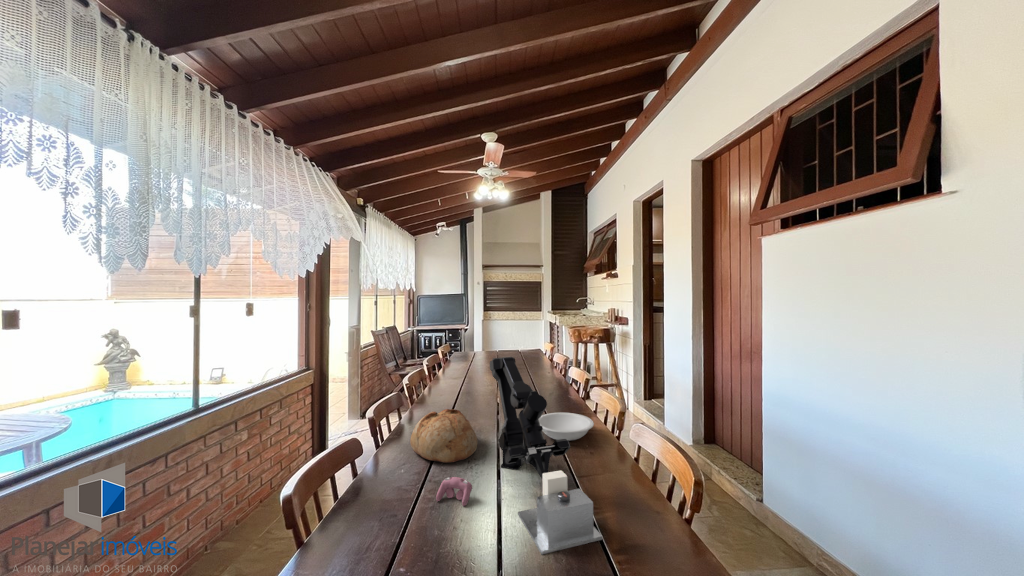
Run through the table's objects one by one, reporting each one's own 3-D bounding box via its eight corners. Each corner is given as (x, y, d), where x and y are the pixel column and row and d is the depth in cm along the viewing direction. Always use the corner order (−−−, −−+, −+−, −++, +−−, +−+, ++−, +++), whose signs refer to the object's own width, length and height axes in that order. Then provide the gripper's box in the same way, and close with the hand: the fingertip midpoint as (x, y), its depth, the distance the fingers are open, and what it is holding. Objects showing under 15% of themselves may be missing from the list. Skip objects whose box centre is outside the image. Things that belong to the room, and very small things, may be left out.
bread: (488, 455, 139) (487, 415, 140) (428, 473, 126) (427, 428, 127) (457, 434, 161) (457, 399, 162) (403, 447, 148) (403, 408, 149)
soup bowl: (599, 449, 144) (599, 431, 144) (537, 449, 144) (537, 432, 144) (588, 426, 168) (587, 412, 168) (534, 427, 168) (534, 412, 168)
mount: (517, 514, 102) (517, 476, 102) (570, 503, 107) (570, 467, 107) (541, 554, 86) (540, 509, 86) (602, 539, 91) (601, 496, 91)
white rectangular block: (542, 517, 99) (542, 473, 99) (561, 513, 100) (561, 470, 101) (559, 540, 89) (558, 492, 90) (579, 535, 91) (579, 488, 91)
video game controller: (471, 506, 109) (475, 479, 112) (464, 507, 105) (469, 479, 108) (440, 501, 112) (445, 475, 115) (433, 501, 108) (438, 474, 111)
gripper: (551, 435, 122) (567, 486, 112) (496, 443, 116) (507, 497, 106) (562, 419, 115) (579, 472, 104) (503, 426, 109) (516, 483, 99)
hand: (546, 481), depth 104 cm, fingers closed
